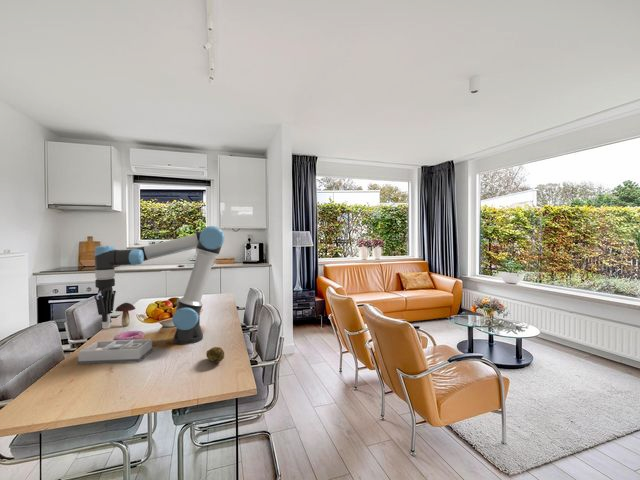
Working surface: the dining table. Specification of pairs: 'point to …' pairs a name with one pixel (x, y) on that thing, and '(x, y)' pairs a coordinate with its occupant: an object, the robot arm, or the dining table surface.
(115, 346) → the key slate
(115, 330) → the dining table surface
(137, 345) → the key ivory
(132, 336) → the donut
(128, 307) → the decorative mushroom
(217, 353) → the green bumpy oval piece
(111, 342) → the keypad board
